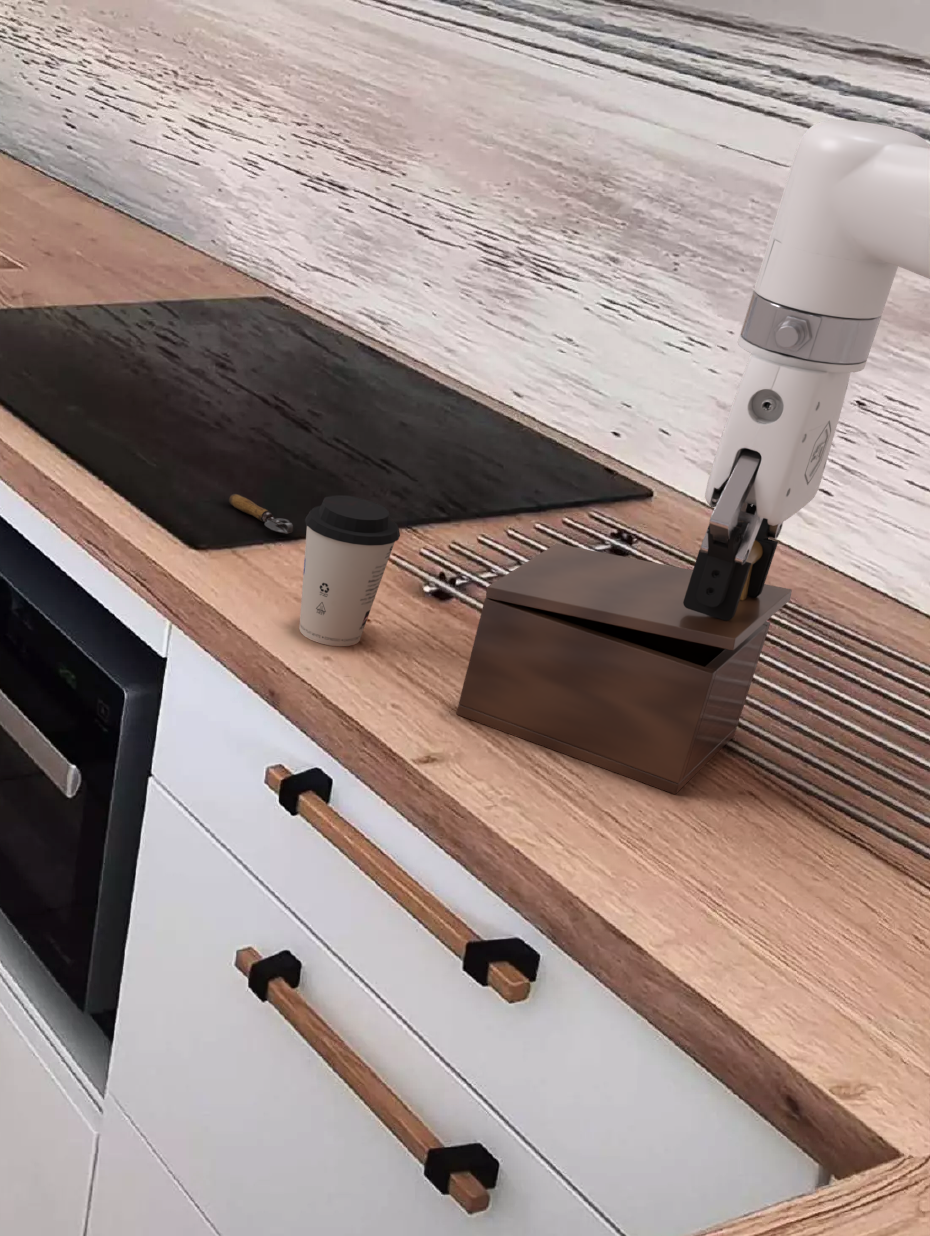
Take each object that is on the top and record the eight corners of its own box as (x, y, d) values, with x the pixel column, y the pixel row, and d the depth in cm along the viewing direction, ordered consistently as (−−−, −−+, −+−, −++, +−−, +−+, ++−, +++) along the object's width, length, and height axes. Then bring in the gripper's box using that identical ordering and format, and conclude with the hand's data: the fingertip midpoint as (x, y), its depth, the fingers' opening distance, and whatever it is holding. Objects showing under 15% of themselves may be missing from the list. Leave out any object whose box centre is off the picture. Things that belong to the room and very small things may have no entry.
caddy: (733, 736, 140) (770, 622, 136) (675, 794, 130) (713, 673, 126) (524, 664, 148) (553, 554, 143) (455, 714, 138) (484, 598, 134)
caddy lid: (790, 600, 134) (803, 532, 132) (733, 650, 125) (746, 578, 123) (554, 553, 143) (563, 489, 142) (485, 597, 134) (494, 529, 132)
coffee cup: (395, 648, 148) (424, 522, 143) (319, 657, 145) (346, 528, 140) (339, 611, 153) (365, 488, 149) (265, 619, 150) (289, 494, 146)
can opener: (226, 505, 173) (228, 492, 172) (250, 505, 174) (252, 492, 173) (278, 538, 165) (280, 524, 165) (302, 538, 166) (305, 524, 165)
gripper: (832, 371, 114) (738, 656, 123) (904, 326, 127) (814, 587, 135) (703, 338, 118) (621, 617, 127) (786, 297, 131) (706, 554, 139)
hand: (722, 599), depth 131 cm, fingers closed on caddy lid, 5 cm apart
